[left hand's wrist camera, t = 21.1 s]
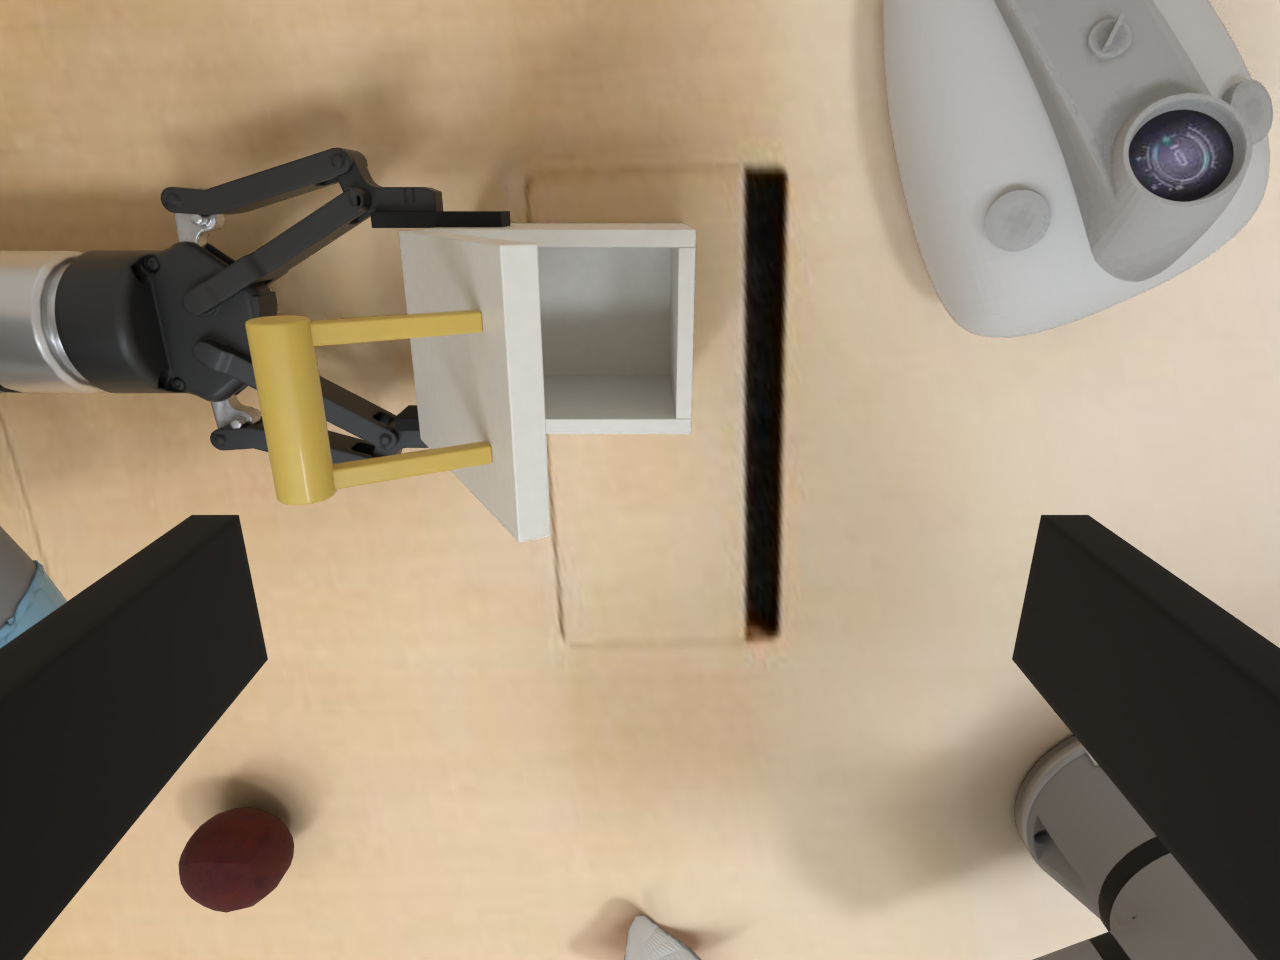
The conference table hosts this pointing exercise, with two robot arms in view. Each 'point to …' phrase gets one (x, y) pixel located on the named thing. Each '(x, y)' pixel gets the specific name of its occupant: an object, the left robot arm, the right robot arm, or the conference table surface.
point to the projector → (1068, 149)
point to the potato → (236, 859)
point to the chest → (613, 323)
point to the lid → (427, 381)
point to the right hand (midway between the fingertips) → (512, 323)
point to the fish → (654, 943)
